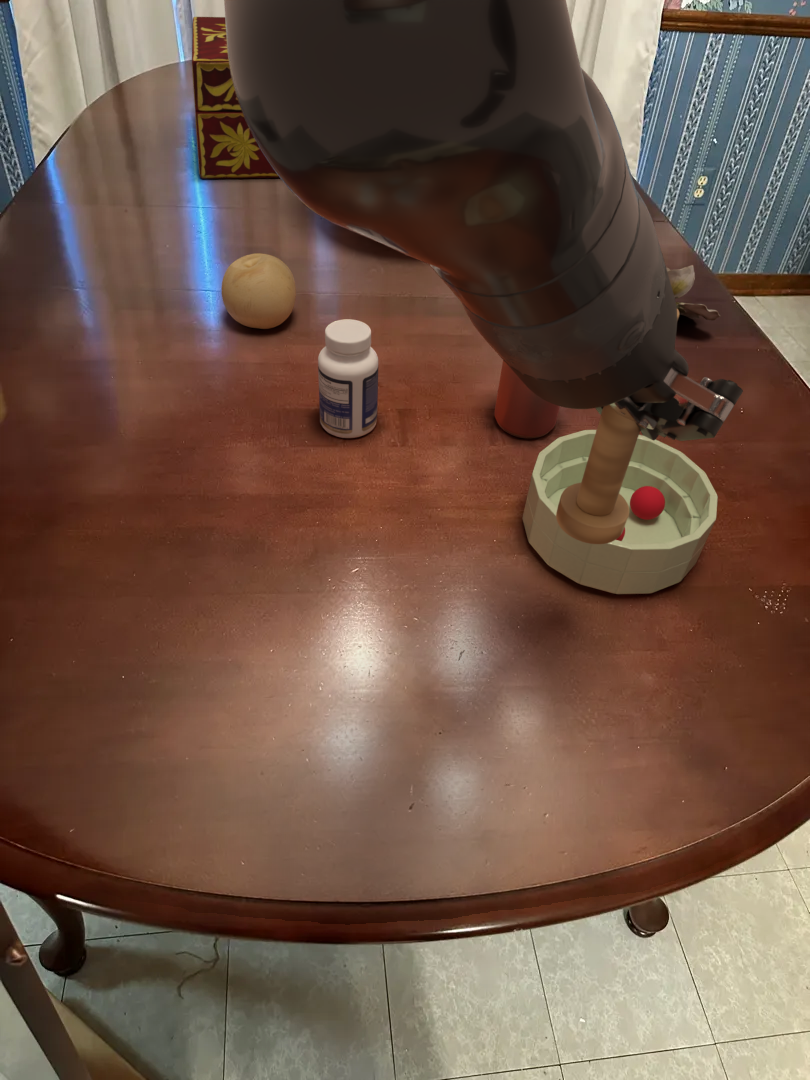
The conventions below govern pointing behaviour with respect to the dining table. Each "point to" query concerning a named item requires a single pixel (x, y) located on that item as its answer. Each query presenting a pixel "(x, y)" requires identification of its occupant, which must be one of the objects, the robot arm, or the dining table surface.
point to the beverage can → (522, 408)
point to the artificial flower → (680, 286)
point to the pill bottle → (348, 380)
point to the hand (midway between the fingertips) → (636, 412)
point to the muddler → (601, 483)
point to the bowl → (648, 545)
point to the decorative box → (221, 110)
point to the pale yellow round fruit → (259, 291)
